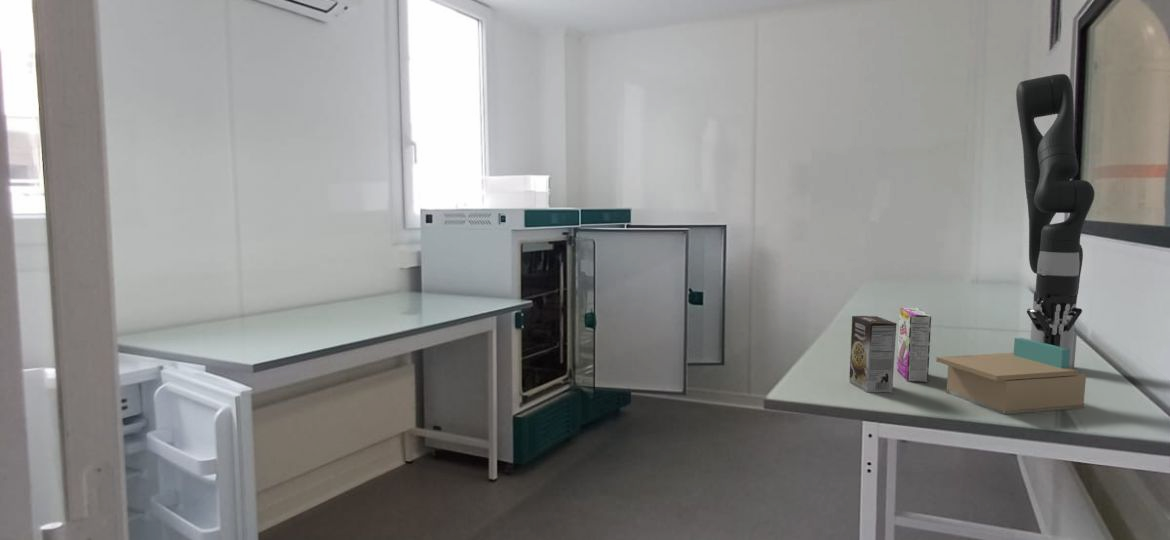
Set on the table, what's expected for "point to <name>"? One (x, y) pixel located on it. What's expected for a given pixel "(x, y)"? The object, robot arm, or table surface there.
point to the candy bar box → (913, 344)
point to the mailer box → (1018, 392)
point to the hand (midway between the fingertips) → (1051, 350)
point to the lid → (1017, 362)
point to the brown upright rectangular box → (872, 353)
